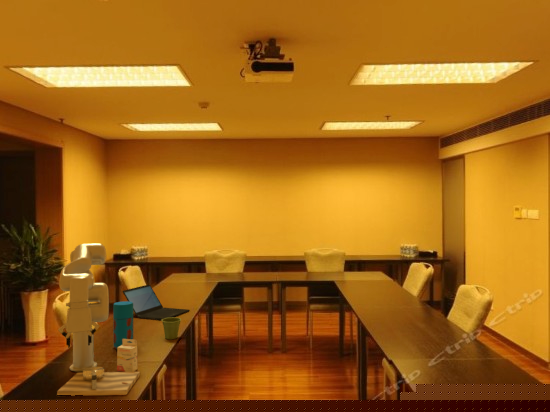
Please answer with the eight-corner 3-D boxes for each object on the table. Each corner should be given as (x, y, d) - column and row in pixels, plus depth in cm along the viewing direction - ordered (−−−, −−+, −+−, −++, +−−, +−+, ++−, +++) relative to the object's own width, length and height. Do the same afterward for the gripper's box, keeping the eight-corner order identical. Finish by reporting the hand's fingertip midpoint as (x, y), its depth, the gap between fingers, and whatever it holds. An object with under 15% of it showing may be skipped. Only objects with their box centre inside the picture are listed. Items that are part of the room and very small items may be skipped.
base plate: (77, 376, 218) (77, 372, 218) (139, 375, 219) (139, 371, 219) (57, 395, 196) (57, 390, 196) (126, 394, 197) (126, 389, 197)
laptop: (165, 321, 325) (165, 294, 325) (121, 317, 338) (121, 290, 338) (190, 311, 356) (190, 286, 356) (149, 308, 369) (149, 283, 369)
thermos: (110, 346, 265) (109, 303, 265) (127, 342, 272) (127, 300, 273) (119, 350, 257) (119, 306, 257) (136, 346, 265) (136, 303, 265)
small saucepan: (83, 375, 213) (83, 362, 213) (103, 372, 217) (103, 360, 217) (82, 391, 194) (82, 377, 194) (105, 388, 198) (105, 374, 198)
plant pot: (163, 341, 275) (163, 322, 275) (159, 336, 285) (159, 318, 285) (183, 339, 279) (183, 320, 280) (179, 334, 290) (178, 316, 290)
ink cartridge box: (116, 371, 225) (116, 341, 225) (122, 368, 230) (122, 338, 230) (132, 372, 223) (132, 342, 223) (137, 369, 228) (137, 339, 228)
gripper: (56, 308, 194) (56, 350, 194) (100, 304, 200) (100, 345, 200) (57, 304, 201) (57, 345, 201) (100, 301, 207) (100, 341, 207)
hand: (79, 345), depth 200 cm, fingers open, 7 cm apart
